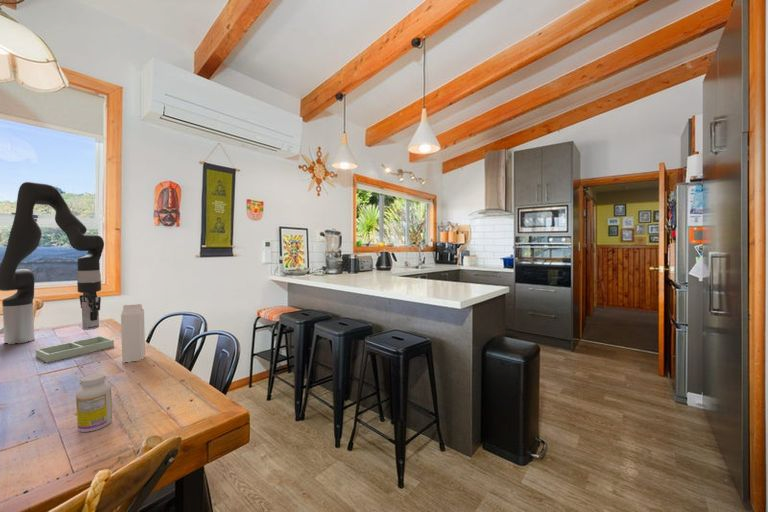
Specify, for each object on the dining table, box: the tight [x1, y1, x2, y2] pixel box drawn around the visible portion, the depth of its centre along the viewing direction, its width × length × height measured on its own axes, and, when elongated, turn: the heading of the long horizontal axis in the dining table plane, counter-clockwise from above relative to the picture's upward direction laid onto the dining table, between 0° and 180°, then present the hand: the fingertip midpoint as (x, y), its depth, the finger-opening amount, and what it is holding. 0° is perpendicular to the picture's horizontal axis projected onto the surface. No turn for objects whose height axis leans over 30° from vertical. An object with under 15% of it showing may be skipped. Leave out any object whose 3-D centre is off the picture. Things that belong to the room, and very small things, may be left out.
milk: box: [120, 303, 146, 364], centre depth 127 cm, size 6×6×22 cm
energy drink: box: [81, 302, 100, 331], centre depth 139 cm, size 5×5×12 cm
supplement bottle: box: [75, 372, 113, 433], centre depth 82 cm, size 7×7×13 cm
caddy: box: [35, 335, 115, 363], centre depth 135 cm, size 12×21×3 cm, turn 152°
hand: (90, 319), depth 139 cm, fingers closed on energy drink, 5 cm apart
